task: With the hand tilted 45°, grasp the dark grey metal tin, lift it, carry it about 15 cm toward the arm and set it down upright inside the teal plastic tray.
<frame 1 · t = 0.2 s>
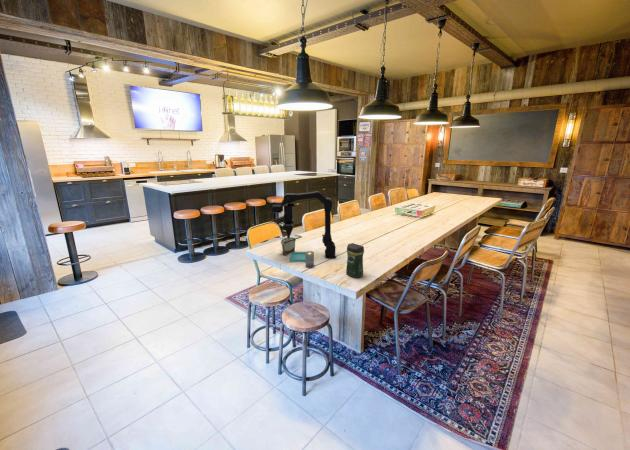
hand: (288, 236, 193), 15 cm above the table, tool pointing down, fingers open, 9 cm apart
coffee jar: (354, 275, 170), on the table
grey tin: (309, 266, 183), on the table
teal tray: (300, 257, 196), on the table
food container: (286, 252, 205), on the table
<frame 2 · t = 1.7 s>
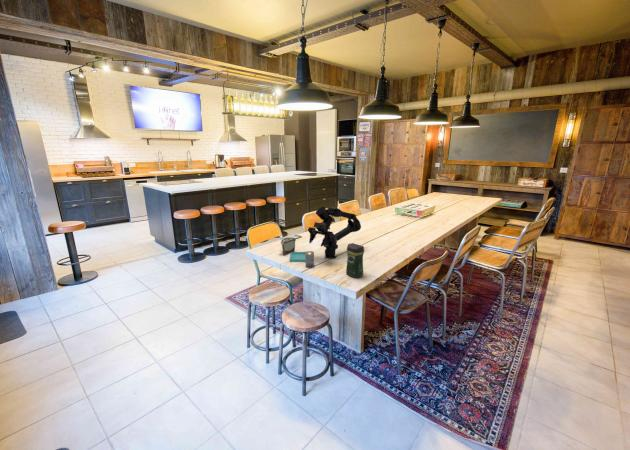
hand: (315, 244, 183), 13 cm above the table, tool tilted 45°, fingers open, 9 cm apart
nothing on the table moved.
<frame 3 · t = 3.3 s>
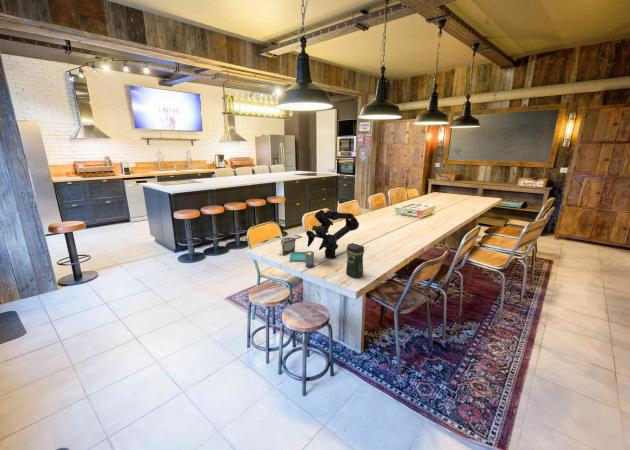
hand: (313, 248, 183), 11 cm above the table, tool tilted 45°, fingers open, 9 cm apart
nothing on the table moved.
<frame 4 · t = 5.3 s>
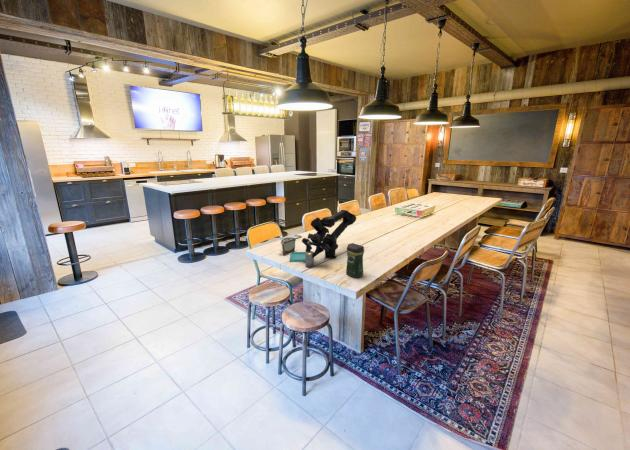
hand: (309, 256, 180), 7 cm above the table, tool tilted 45°, fingers closed on grey tin, 5 cm apart
grey tin: (309, 266, 183), on the table, touching gripper
everything else where it was.
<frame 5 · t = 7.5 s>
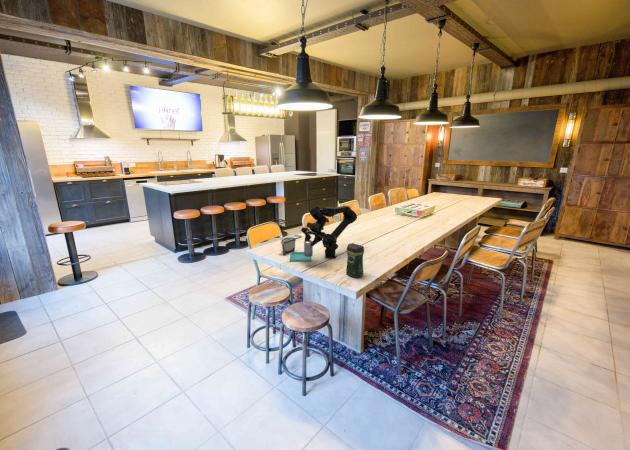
hand: (307, 245, 180), 13 cm above the table, tool tilted 45°, fingers closed on grey tin, 5 cm apart
grey tin: (308, 255, 182), point 7 cm above the table, touching gripper
everything else where it was.
when the fingers open (8 cm above the table, at t = 10.2 s): grey tin drops 1 cm, resting on teal tray.
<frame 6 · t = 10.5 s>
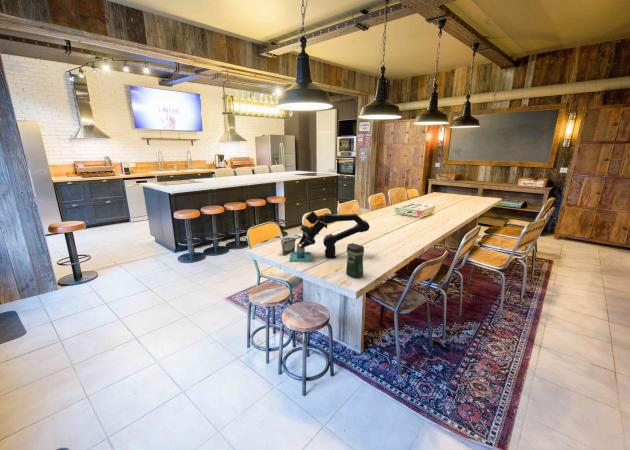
hand: (300, 245, 194), 9 cm above the table, tool tilted 45°, fingers open, 8 cm apart
grey tin: (300, 257, 196), point 1 cm above the table, touching teal tray
everything else where it was.
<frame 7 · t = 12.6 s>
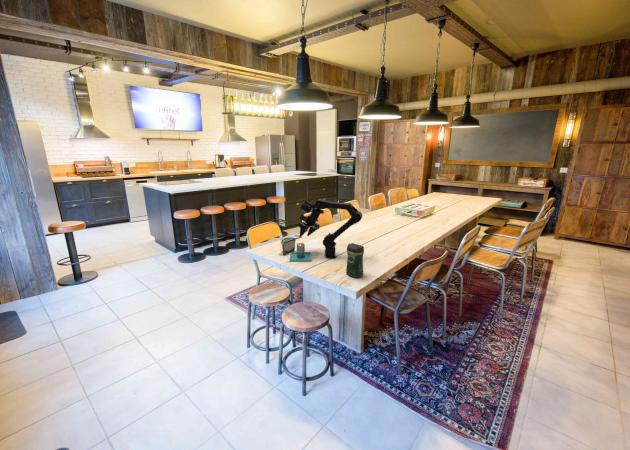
hand: (303, 236, 198), 13 cm above the table, tool tilted 25°, fingers open, 9 cm apart
nothing on the table moved.
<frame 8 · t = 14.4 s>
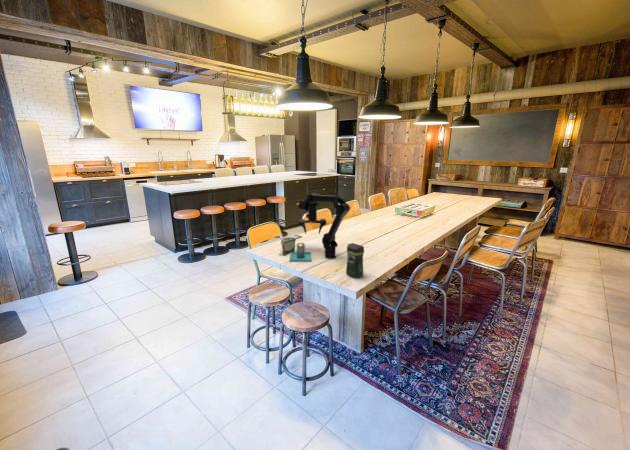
hand: (312, 233, 204), 13 cm above the table, tool pointing down, fingers open, 9 cm apart
nothing on the table moved.
at the end: grey tin inside the target area on the teal tray (0.1 cm from its centre), point 0.5 cm above the teal tray's base; grey tin tilted 1°; the gripper is holding nothing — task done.
